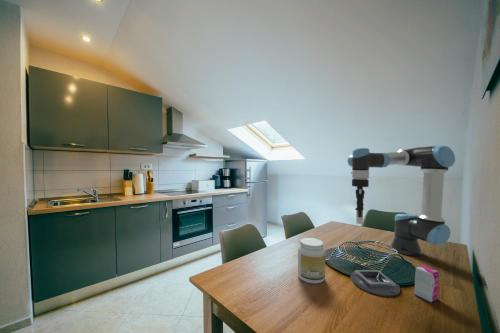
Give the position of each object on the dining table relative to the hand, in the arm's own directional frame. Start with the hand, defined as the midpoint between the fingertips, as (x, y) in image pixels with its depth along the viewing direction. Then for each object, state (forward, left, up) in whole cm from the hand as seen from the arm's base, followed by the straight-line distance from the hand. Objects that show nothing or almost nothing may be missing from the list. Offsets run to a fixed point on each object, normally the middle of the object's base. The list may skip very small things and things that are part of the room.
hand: (359, 220), depth 105 cm
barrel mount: (0, +12, -25) cm, 28 cm away
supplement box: (-15, +22, -25) cm, 37 cm away
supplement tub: (+27, +7, -25) cm, 38 cm away
